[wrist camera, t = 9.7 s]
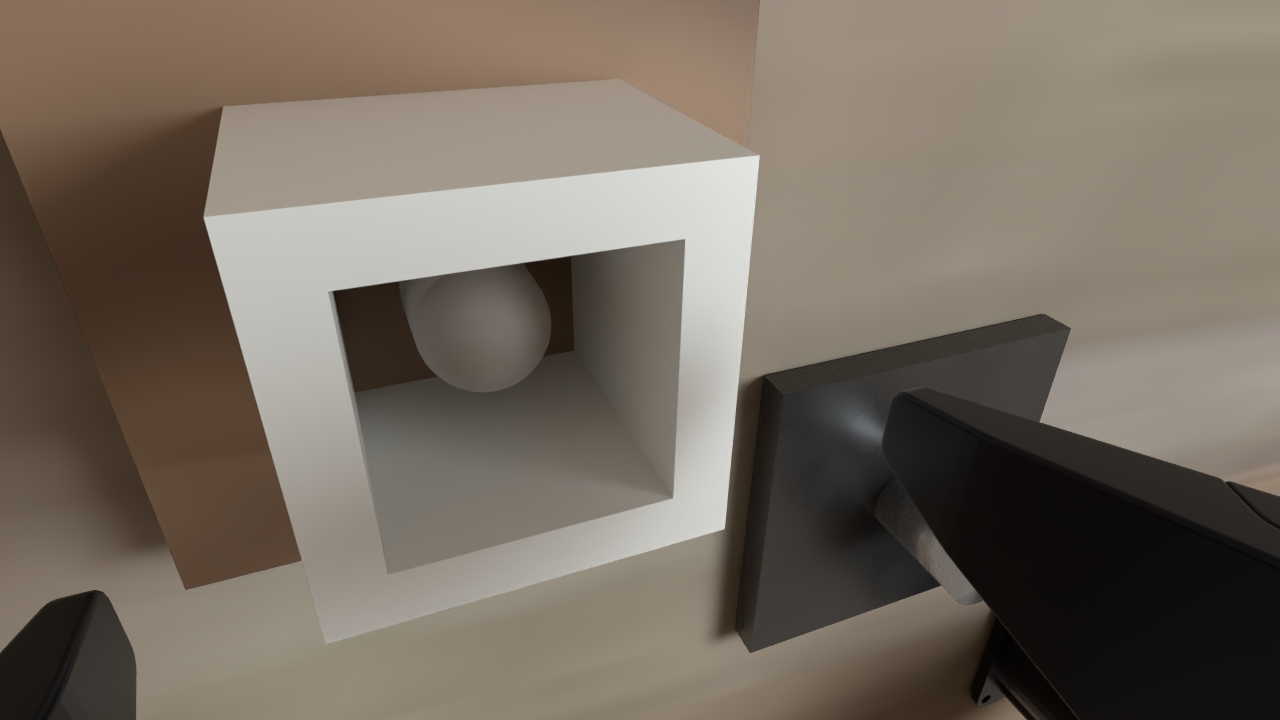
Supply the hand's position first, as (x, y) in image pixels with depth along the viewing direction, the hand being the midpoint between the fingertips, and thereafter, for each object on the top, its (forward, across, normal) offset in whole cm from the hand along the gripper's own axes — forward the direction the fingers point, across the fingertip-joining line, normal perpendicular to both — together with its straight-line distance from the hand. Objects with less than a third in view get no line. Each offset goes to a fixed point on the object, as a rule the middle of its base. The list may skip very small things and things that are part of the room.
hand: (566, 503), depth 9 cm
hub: (+8, 0, 0) cm, 9 cm away
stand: (+8, -13, +10) cm, 19 cm away
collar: (+7, 0, 0) cm, 7 cm away
